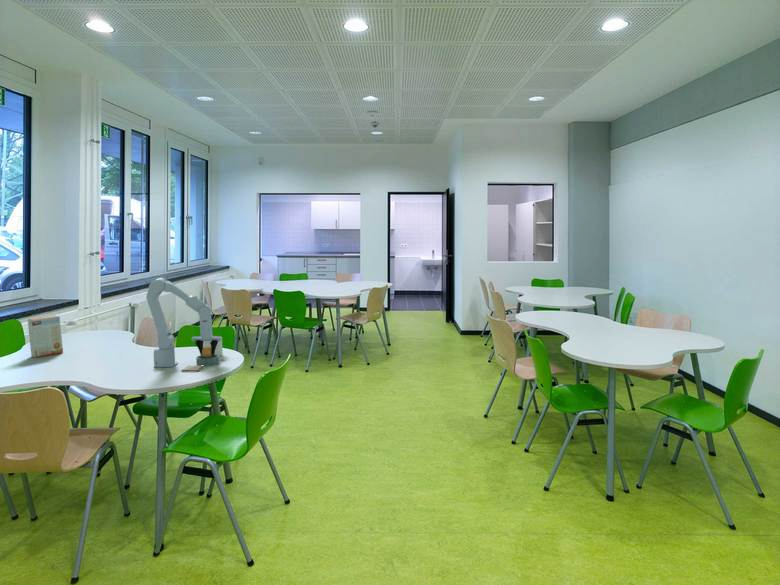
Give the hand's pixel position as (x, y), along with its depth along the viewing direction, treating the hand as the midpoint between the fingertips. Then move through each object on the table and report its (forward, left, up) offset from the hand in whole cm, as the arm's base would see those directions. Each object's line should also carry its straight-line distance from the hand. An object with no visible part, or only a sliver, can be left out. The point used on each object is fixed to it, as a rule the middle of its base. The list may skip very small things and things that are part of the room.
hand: (207, 354), depth 271 cm
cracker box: (-96, +19, -5) cm, 98 cm away
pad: (-3, -12, -4) cm, 13 cm away
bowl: (0, 0, -4) cm, 4 cm away
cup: (-3, +16, -5) cm, 17 cm away
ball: (0, 0, +2) cm, 2 cm away
